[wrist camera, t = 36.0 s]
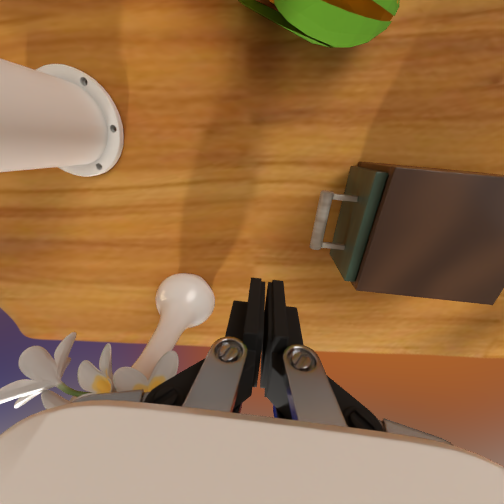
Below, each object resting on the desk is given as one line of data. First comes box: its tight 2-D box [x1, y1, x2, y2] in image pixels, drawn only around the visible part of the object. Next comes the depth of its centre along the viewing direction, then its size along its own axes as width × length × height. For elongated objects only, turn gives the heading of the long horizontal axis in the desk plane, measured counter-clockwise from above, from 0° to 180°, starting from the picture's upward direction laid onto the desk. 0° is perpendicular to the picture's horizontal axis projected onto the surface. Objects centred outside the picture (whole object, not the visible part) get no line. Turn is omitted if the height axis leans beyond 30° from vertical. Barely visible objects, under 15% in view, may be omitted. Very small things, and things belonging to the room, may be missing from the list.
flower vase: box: [0, 273, 215, 410], centre depth 29 cm, size 13×18×25 cm
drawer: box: [310, 166, 389, 282], centre depth 28 cm, size 19×12×8 cm, turn 85°
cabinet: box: [351, 162, 504, 305], centre depth 28 cm, size 16×14×10 cm
